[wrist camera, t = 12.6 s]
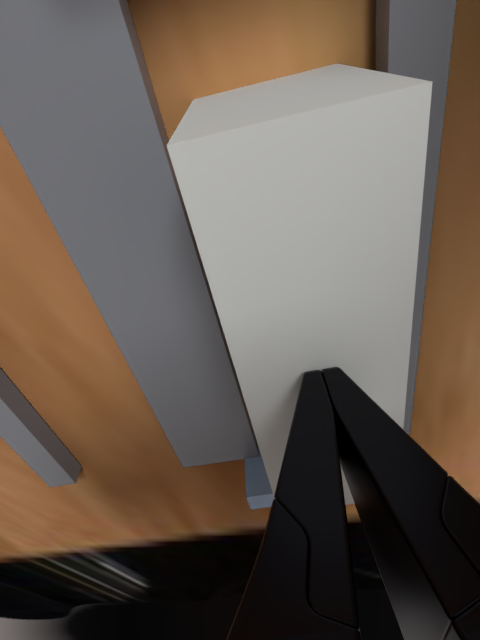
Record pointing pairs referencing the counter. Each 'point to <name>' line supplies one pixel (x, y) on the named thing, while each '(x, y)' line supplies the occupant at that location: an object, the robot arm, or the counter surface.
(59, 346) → the counter surface
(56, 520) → the counter surface
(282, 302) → the white rectangular prism
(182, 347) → the grey long bars
